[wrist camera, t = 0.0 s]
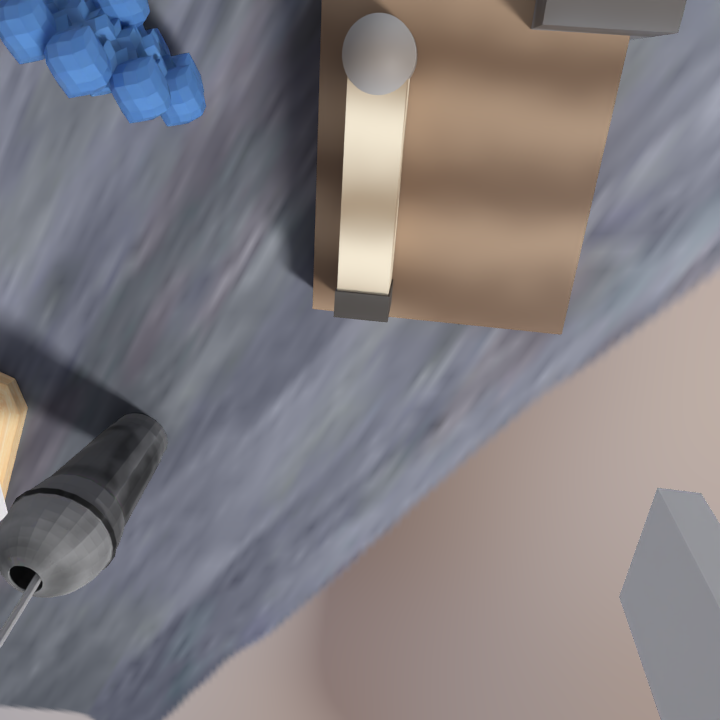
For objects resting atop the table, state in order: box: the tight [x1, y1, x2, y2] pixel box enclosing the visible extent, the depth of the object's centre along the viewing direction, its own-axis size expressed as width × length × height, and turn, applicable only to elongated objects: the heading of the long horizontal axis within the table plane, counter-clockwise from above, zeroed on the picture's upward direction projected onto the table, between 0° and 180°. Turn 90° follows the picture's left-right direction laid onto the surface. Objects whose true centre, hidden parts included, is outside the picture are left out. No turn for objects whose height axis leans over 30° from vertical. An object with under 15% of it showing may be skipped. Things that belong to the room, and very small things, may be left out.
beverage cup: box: [0, 413, 168, 648], centre depth 41 cm, size 7×7×20 cm
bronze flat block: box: [313, 0, 687, 334], centre depth 34 cm, size 19×17×7 cm
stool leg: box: [334, 13, 418, 322], centre depth 34 cm, size 16×4×3 cm, turn 176°
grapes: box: [0, 0, 206, 126], centre depth 31 cm, size 12×7×12 cm, turn 61°
